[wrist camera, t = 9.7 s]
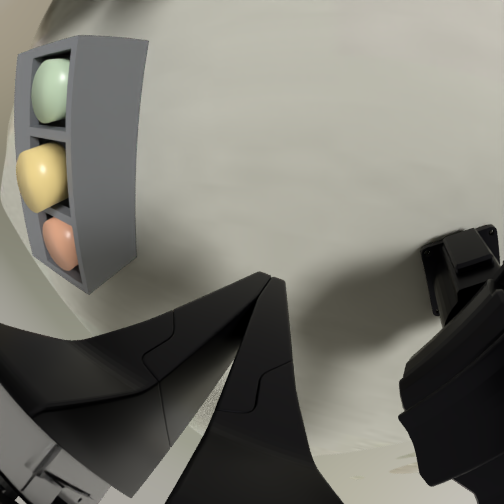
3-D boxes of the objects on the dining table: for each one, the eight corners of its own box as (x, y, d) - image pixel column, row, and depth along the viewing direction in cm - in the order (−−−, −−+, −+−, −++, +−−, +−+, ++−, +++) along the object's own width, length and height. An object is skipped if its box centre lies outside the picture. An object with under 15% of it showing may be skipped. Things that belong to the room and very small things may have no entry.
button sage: (96, 54, 16) (65, 55, 13) (90, 117, 18) (60, 125, 16) (61, 60, 17) (33, 63, 14) (57, 115, 20) (30, 122, 17)
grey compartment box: (148, 40, 18) (79, 35, 12) (136, 257, 30) (88, 294, 24) (76, 49, 21) (17, 54, 15) (77, 228, 33) (32, 255, 26)
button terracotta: (93, 216, 23) (68, 230, 21) (98, 263, 26) (77, 279, 24) (61, 202, 24) (38, 214, 22) (68, 245, 27) (48, 259, 25)
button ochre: (72, 144, 18) (41, 155, 15) (75, 205, 21) (48, 220, 18) (41, 138, 19) (14, 148, 17) (45, 192, 22) (20, 204, 19)
